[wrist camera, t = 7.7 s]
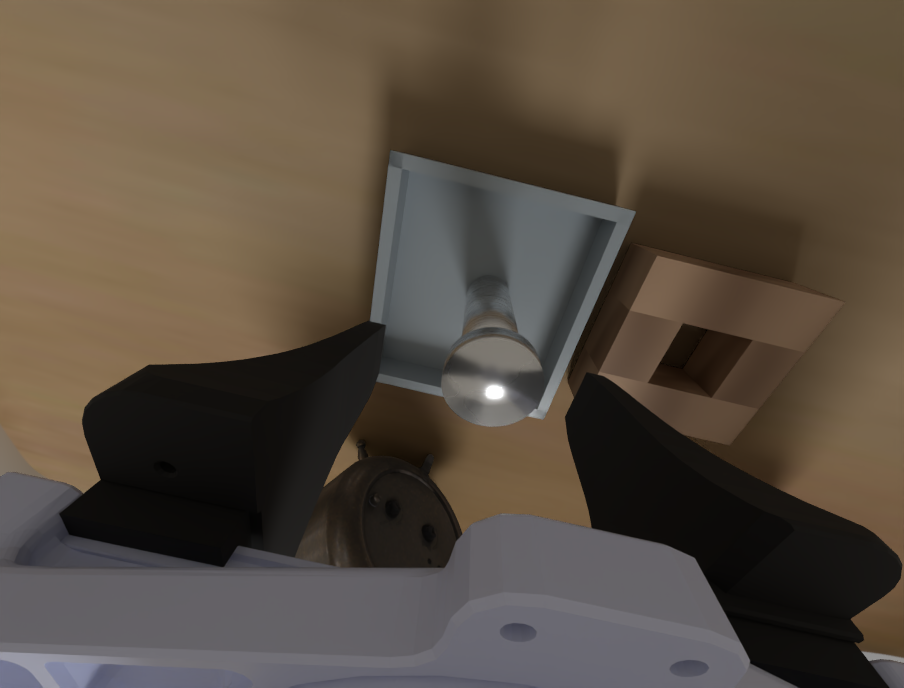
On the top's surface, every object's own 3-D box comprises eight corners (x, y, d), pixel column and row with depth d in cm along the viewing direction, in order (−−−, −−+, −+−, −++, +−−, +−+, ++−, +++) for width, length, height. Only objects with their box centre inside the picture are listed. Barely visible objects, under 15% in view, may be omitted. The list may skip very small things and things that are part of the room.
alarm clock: (335, 441, 26) (157, 776, 12) (381, 404, 24) (234, 751, 10) (436, 517, 29) (392, 854, 15) (484, 489, 27) (486, 847, 13)
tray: (616, 205, 17) (635, 211, 15) (537, 395, 23) (543, 419, 21) (402, 152, 17) (390, 150, 15) (374, 357, 22) (363, 378, 20)
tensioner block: (792, 282, 18) (845, 302, 16) (700, 412, 22) (729, 445, 20) (631, 242, 18) (657, 255, 15) (567, 381, 22) (579, 411, 20)
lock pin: (526, 274, 19) (560, 354, 11) (508, 329, 20) (525, 435, 12) (465, 259, 19) (453, 329, 11) (451, 316, 20) (432, 414, 12)
